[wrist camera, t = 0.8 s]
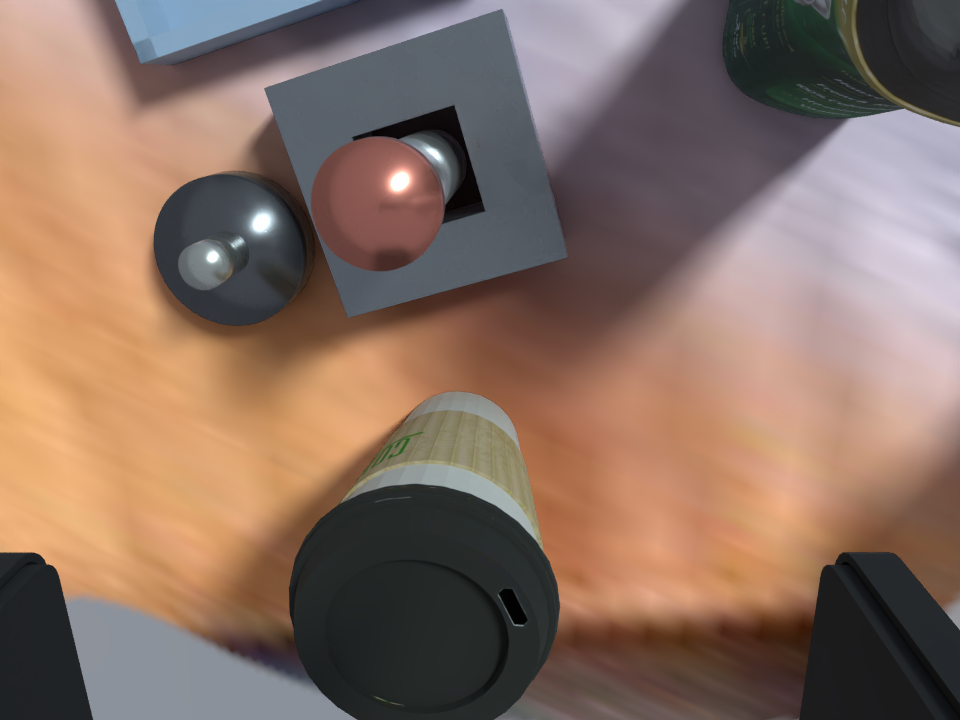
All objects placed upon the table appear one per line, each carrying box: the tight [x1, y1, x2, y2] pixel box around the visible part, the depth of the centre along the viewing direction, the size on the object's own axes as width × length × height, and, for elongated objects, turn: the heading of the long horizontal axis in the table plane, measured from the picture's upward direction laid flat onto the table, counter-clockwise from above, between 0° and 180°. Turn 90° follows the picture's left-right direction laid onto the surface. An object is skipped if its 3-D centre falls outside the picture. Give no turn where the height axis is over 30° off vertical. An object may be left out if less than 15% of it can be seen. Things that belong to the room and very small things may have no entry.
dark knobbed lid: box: [154, 171, 315, 326], centre depth 35 cm, size 7×7×5 cm
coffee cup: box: [289, 391, 560, 720], centre depth 33 cm, size 10×10×15 cm
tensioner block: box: [264, 9, 568, 318], centre depth 34 cm, size 10×10×4 cm
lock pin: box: [311, 129, 467, 271], centre depth 30 cm, size 4×4×13 cm
